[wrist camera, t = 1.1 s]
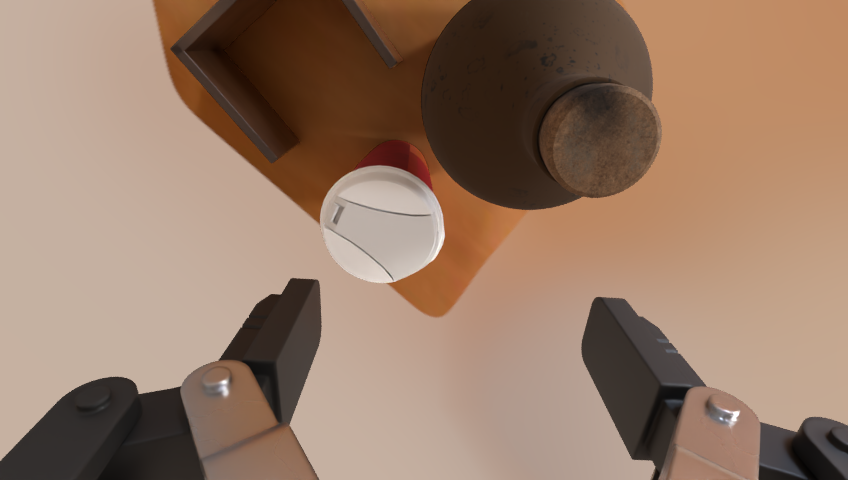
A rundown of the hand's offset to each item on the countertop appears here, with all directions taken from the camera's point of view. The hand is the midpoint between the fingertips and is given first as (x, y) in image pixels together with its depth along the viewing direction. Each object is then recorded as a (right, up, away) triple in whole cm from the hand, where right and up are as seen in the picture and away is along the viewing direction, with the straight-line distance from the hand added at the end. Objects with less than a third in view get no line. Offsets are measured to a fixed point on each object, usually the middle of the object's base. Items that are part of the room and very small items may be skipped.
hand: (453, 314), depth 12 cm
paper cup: (-3, +8, +26) cm, 27 cm away
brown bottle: (+4, +16, +22) cm, 27 cm away
